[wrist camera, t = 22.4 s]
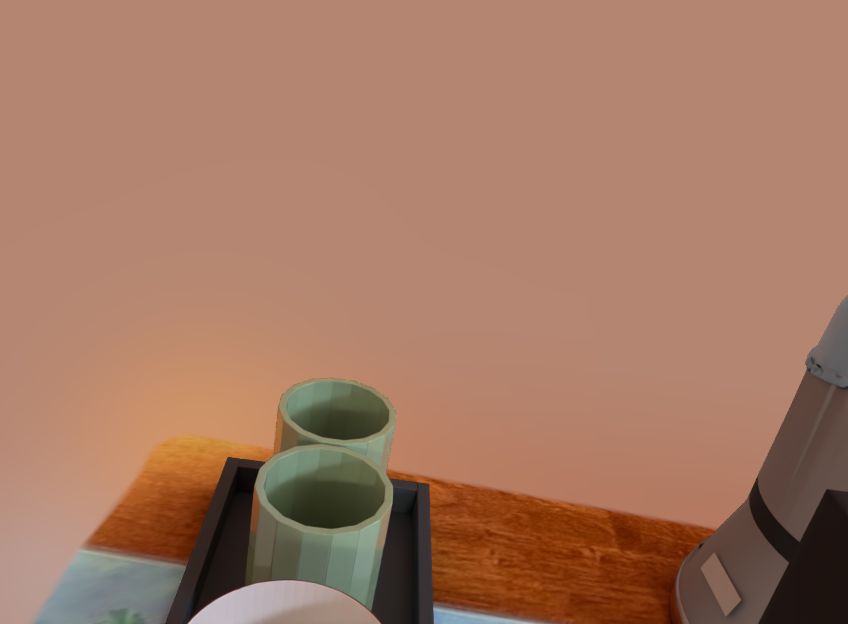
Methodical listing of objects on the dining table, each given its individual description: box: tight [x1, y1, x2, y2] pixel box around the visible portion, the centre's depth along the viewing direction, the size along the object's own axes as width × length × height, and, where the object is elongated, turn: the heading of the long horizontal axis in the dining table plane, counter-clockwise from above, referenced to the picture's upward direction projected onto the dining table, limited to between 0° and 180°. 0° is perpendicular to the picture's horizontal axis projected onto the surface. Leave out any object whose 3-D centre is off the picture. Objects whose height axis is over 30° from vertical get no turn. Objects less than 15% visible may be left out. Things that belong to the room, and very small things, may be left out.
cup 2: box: [245, 444, 393, 611], centre depth 37 cm, size 6×6×10 cm
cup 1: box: [273, 378, 396, 473], centre depth 43 cm, size 6×6×10 cm
